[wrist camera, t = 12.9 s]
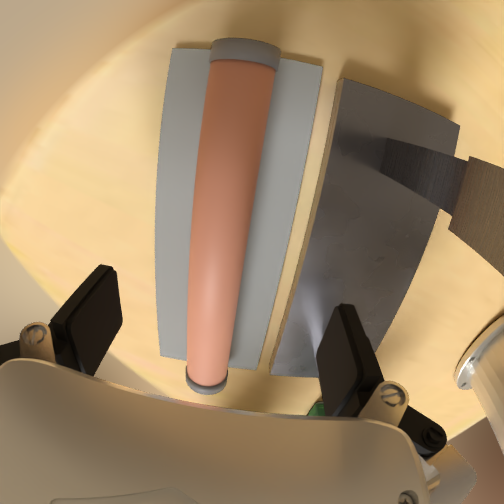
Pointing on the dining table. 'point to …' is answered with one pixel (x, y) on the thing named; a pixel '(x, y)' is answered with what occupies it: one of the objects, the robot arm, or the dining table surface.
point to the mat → (264, 207)
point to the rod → (225, 200)
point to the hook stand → (381, 217)
